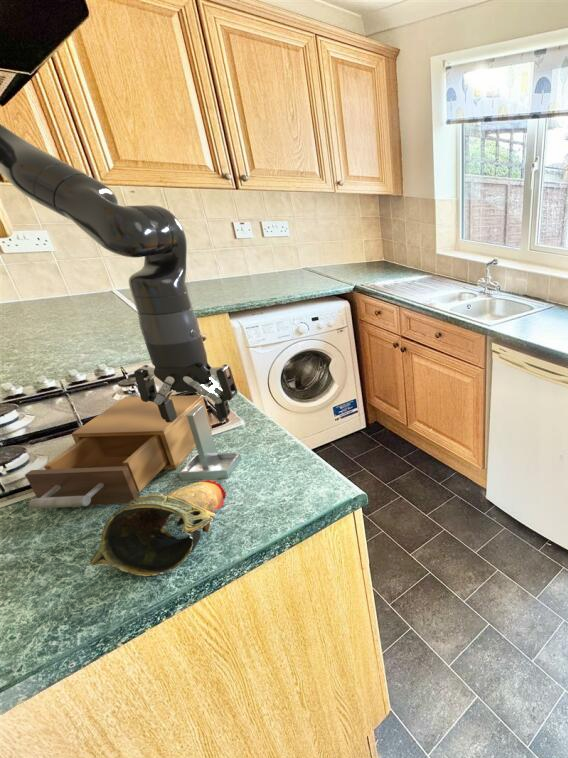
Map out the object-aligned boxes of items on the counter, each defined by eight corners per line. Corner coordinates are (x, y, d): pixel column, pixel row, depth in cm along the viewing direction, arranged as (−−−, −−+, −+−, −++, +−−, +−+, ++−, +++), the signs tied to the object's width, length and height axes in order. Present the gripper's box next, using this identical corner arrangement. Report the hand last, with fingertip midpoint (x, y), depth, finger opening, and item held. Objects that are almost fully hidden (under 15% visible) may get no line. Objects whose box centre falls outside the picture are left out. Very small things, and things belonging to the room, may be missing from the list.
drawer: (116, 523, 66) (101, 489, 63) (16, 530, 64) (-5, 495, 61) (179, 456, 83) (169, 427, 80) (101, 459, 80) (88, 429, 77)
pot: (248, 449, 73) (181, 487, 55) (274, 507, 74) (218, 561, 57) (147, 484, 71) (45, 535, 53) (176, 542, 73) (87, 610, 55)
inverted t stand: (181, 480, 78) (160, 418, 72) (197, 461, 83) (179, 402, 78) (228, 477, 79) (211, 417, 74) (241, 459, 84) (226, 401, 79)
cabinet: (176, 468, 81) (163, 430, 77) (88, 472, 78) (70, 433, 74) (212, 429, 94) (202, 395, 90) (138, 431, 91) (125, 396, 87)
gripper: (230, 328, 74) (248, 408, 81) (138, 328, 72) (166, 410, 79) (209, 343, 67) (231, 429, 74) (108, 342, 65) (140, 431, 72)
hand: (198, 419), depth 76 cm, fingers open, 8 cm apart
